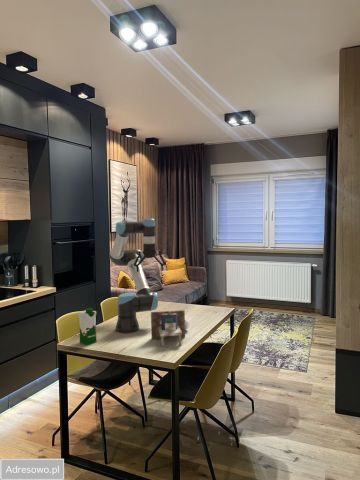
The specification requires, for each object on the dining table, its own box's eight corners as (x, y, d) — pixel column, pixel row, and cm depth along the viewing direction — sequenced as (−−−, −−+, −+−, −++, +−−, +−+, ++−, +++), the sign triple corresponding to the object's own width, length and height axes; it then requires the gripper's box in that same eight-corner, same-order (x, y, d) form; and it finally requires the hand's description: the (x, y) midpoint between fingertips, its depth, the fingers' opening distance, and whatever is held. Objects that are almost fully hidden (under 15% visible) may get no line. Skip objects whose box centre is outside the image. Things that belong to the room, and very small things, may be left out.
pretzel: (191, 328, 237) (190, 314, 236) (186, 334, 225) (186, 320, 225) (174, 327, 240) (174, 314, 239) (168, 333, 228) (168, 319, 228)
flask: (177, 328, 213) (176, 310, 212) (177, 329, 210) (177, 311, 209) (161, 329, 212) (161, 310, 211) (161, 330, 209) (161, 312, 208)
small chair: (153, 347, 203) (153, 319, 202) (151, 338, 219) (150, 311, 218) (189, 344, 206) (188, 316, 205) (184, 336, 222) (184, 310, 221)
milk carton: (86, 345, 208) (85, 311, 207) (77, 342, 214) (75, 308, 212) (99, 341, 215) (97, 307, 213) (89, 338, 220) (88, 305, 219)
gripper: (129, 244, 225) (130, 278, 227) (169, 243, 229) (170, 276, 231) (129, 243, 233) (130, 276, 234) (168, 242, 237) (168, 274, 238)
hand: (150, 276), depth 232 cm, fingers open, 13 cm apart
